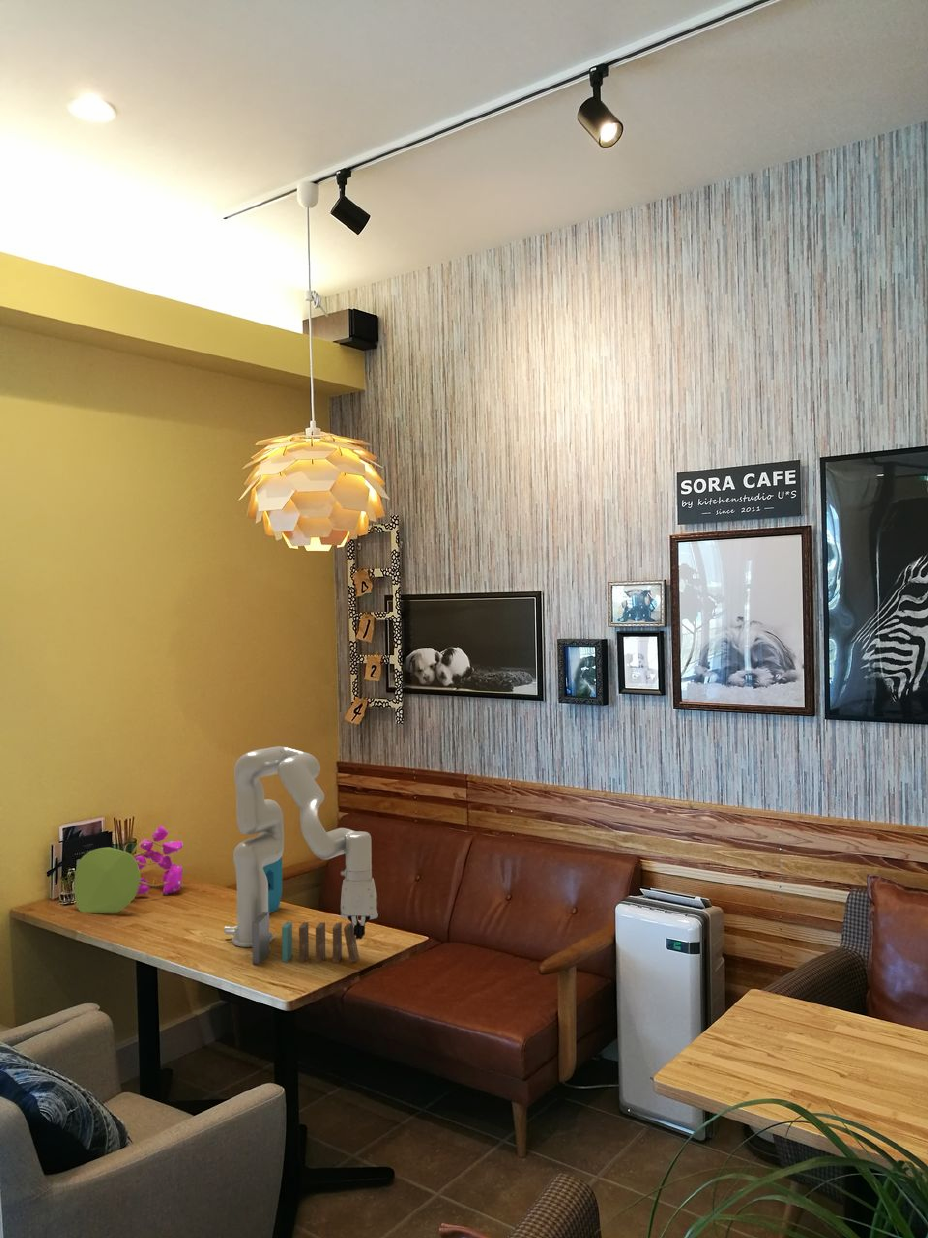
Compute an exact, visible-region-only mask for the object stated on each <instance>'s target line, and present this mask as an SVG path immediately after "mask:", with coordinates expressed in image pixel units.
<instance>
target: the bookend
mask: <svg viewBox="0 0 928 1238" xmlns="http://www.w3.org/2000/svg"><path fill="white" fill-rule="evenodd" d="M252 932H253V947H252V965H260V964H261V963H262V962H263V961H264V960H265V959H266V957H267V956H268V955H269V954H270V951H271V950H270V949H271V948H270V943H269V932H270V913H269V912H262V913H261V914H260V915H259V916H258V917H257V918H256V919H255V921H254V922H253V923H252Z"/></svg>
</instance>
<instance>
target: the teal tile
mask: <svg viewBox="0 0 928 1238" xmlns="http://www.w3.org/2000/svg"><path fill="white" fill-rule="evenodd" d="M281 943H282V944H281V946H282V947H281V948H282V950H281V951H282V952H281V953H282V955H281V957H282V958H281V960H282V962H283V963H288V962H289V961H290V960H291V958H292V957H293V922H292V921H286V922H285V924H283V925H282V926H281Z"/></svg>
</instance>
